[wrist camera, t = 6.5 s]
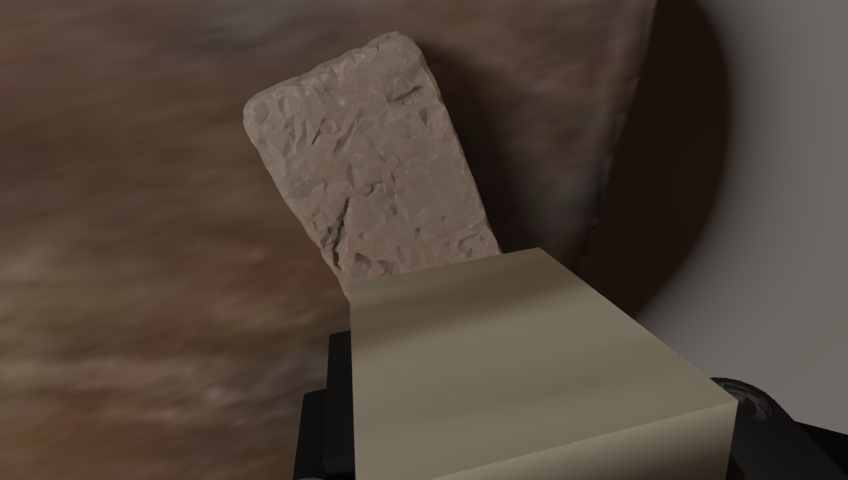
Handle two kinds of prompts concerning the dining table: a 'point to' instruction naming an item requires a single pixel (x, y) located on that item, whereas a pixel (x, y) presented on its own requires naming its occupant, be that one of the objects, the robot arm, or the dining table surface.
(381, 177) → the brick
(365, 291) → the beech block
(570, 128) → the dining table surface
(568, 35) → the dining table surface
